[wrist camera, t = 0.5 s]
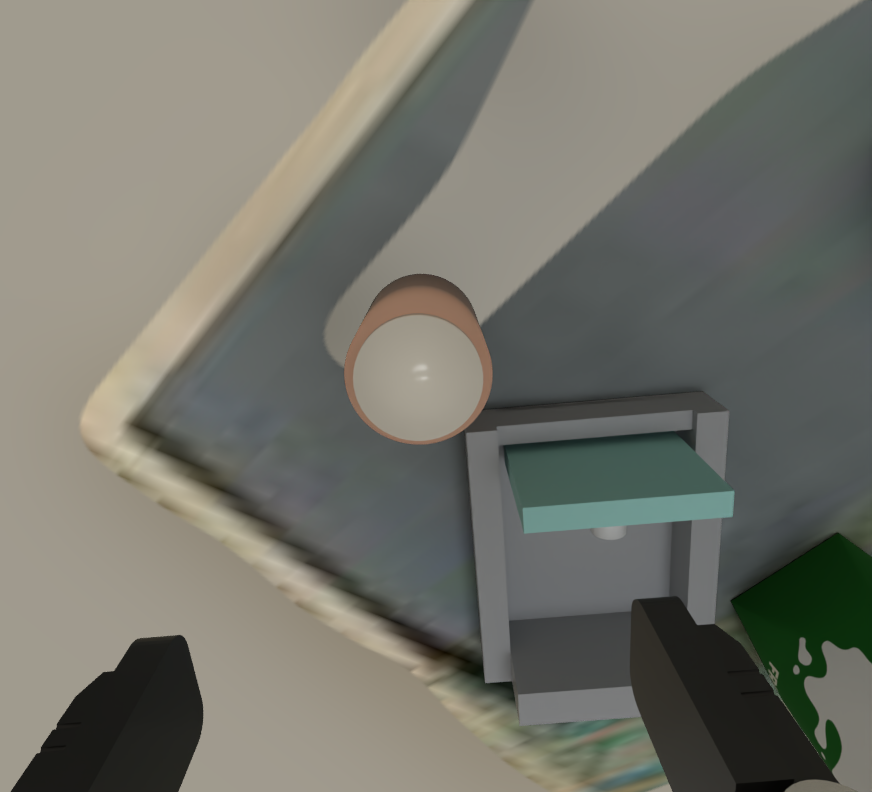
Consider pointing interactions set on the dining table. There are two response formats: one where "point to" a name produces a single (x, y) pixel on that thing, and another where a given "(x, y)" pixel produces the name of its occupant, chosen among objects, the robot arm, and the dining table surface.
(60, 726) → the robot arm
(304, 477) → the dining table surface
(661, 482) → the plate
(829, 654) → the milk carton
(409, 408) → the jar
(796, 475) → the dining table surface
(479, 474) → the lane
